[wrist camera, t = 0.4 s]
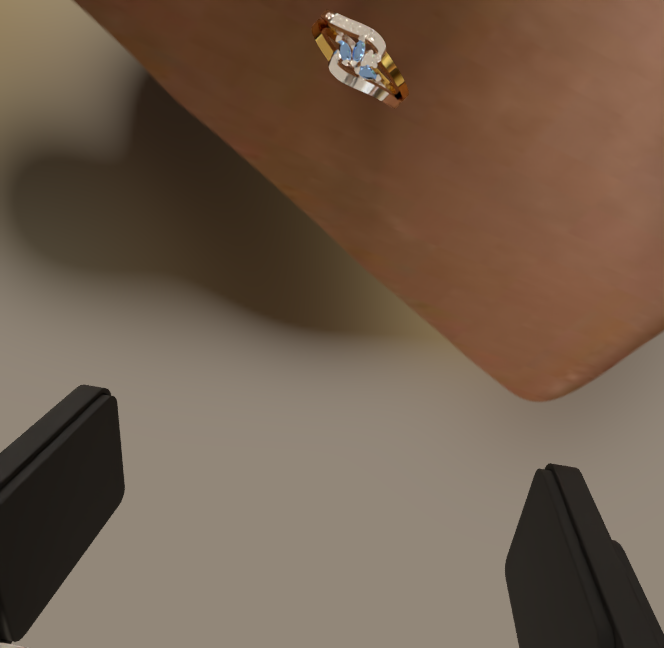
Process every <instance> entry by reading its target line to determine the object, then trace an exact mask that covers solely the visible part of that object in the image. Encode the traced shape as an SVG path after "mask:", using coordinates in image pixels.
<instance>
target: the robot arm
mask: <svg viewBox="0 0 664 648" xmlns="http://www.w3.org/2000/svg"><path fill="white" fill-rule="evenodd" d="M124 488H125V485H124V474H123V462H122V452H121V440H120V430H119V418H118V406H117V400H116V398H115V397H114V396H111V393H110V391H109V390H108V389H106V388H101V387H95V386H89V385H80V386H78V387H77V388H76V389H75V390H73V391H72V392H71V393H70V394H69V395H68V396H66V397H65V398H64V399H63V400H62V401H61V402H59V403H58V404H57V405H56V406H55V407H54V408H52V409H51V410H50V411H49V412H48V413H47V414H45V415H44V416H43V417H42V418H41V419H40V420H38V421H37V422H36V423H35V424H34V425H33V426H31V427H30V428H29V429H28V430H27V431H26V432H24V433H23V434H22V435H21V436H20V437H19V438H17V439H16V440H15V441H14V442H13V443H12V444H10V445H9V446H8V447H7V448H6V449H4V450H3V451H2V452H1V453H0V648H27V647H22V646H17V645H12V644H11V643H12V641H14V642H16V641H19V640H20V639H21V638H23V636H24V635H25V634H26V633H27V631H28V630H29V629H30V627H31V626H32V624H33V623H34V622H35V620H36V619H37V618H38V616H39V615H40V613H41V612H42V611H43V609H44V608H45V607H46V605H47V604H48V602H49V601H50V599H51V598H52V597H53V595H54V594H55V593H56V591H57V590H58V589H59V587H60V586H61V584H62V583H63V582H64V580H65V579H66V578H67V576H68V575H69V573H70V572H71V571H72V569H73V568H74V566H75V565H76V564H77V562H78V561H79V560H80V558H81V557H82V555H83V554H84V552H85V551H86V550H87V549H88V547H89V546H90V544H91V543H92V542H93V540H94V539H95V537H96V536H97V535H98V533H99V532H100V530H101V529H102V528H103V526H104V525H105V524H106V522H107V521H108V519H109V518H110V517H111V515H112V514H113V513H114V511H115V510H116V509H117V507H118V506H119V504H120V503H121V500H122V498H123V495H124V490H125V489H124ZM505 577H506V582H507V587H508V592H509V597H510V603H511V607H512V613H513V618H514V622H515V628H516V633H517V638H518V643H519V648H664V634H663V632H662V630H661V627H660V625H659V623H658V621H657V619H656V617H655V615H654V613H653V611H652V609H651V606H650V604H649V602H648V600H647V598H646V596H645V594H644V592H643V589H642V587H641V585H640V583H639V581H638V579H637V577H636V575H635V573H634V571H633V568H632V566H631V564H630V562H629V560H628V558H627V556H626V553H625V551H624V550H623V548H622V547H621V545H620V544H619V543H618V542H616V541H614V540H611V537H610V535H609V533H608V531H607V529H606V527H605V524H604V522H603V520H602V518H601V515H600V513H599V511H598V509H597V507H596V505H595V503H594V500H593V498H592V496H591V494H590V491H589V489H588V487H587V485H586V483H585V480H584V478H583V476H582V474H581V472H580V470H579V469H577V468H574V467H568V466H562V465H556V464H551V463H550V464H548V465H547V466H546V467H545V469H538V470H537V471H536V473H535V475H534V478H533V481H532V484H531V487H530V490H529V493H528V496H527V499H526V502H525V505H524V508H523V511H522V514H521V517H520V520H519V523H518V526H517V529H516V532H515V535H514V538H513V540H512V543H511V546H510V549H509V552H508V555H507V559H506V564H505Z"/></svg>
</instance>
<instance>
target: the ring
mask: <svg viewBox="0 0 664 648" xmlns="http://www.w3.org/2000/svg"><path fill="white" fill-rule="evenodd" d="M320 17H321V18H322V19H323V20H324V21H323V20H322V19H318V20H317V21H316V22H315V24H314V25H313V26H312V33H313V36H314V38H315V40H316V42H317V44H318V46H319V47H320V49H321V51H322V52H323V54H324V55H325V57H326V58H327V60H328V61H329V62H328V66H329V69H330V71H331V73H332V74H333V75H334V76H335V77H336V78H337V79H338V80H339V81H341V82H343V83H344V84H346V85H348V86H351V87H353V88H355V89H358V90H360V91H362V92H364V93H367V94H369V95H371V96H373V97H375V98H377V99H378V100H380V101H382V102H384V103H386V104H387V105H389V106H391V107H392V108H394V109H395V108H396V107H397V106H398V105H400V104H401V102H402V101H403V100H404V99H405V98H406V97H407V96H408V95H409V91H408V88H407V85H406V83H405V81H404V79H403V77H402V75H401V74H400V72H399V70H398V69H397V67H396V65H395V64H394V62H393V61H392V59H391V58H390V56H389V55H388V53H387V52H386V44H385V42H384V40H383V39H382V37H381V36H380V35H379V34H378V33H377V32H376V31H374V30H373V29H371V28H370V27H368V26H366V25H363V24H361V23H359V22H356V21H354V20H351V19H349V18H346V17H344V16H342V15H340V14H338V13H335V12H333V11H331V10H329V9H326V11H325V12H324V13H323V14H322V15H321V16H320ZM349 35H350V36H353V37H355V38H358V39H359V42H358V43H357V44H356V43H355V42H354V40H353V39H352V38H351V37H350V36H349ZM328 36H329V37H331V38H332V39H333V40H335V41H336V42H337V43H338V44H339V50H338V49H337V48H336V47H335V46H334V45H333V43H332V42H331V41H330V39H329V37H328ZM366 43H368V44H369V45H371V46H372V47H373V48H374V50H375V54H374V55H373V50H370V49H368V50H367V53H365V52H366V46H365V44H366ZM340 60H343V62H342V64H344V65H345V66H347V67H350V68H352V66H353V69H354V71H355V73H356V74H355V73H353V72H351V71H349V70H347V69H345V68H344V67H343V66H342V65H341V64H340V62H339V61H340ZM377 64H378V65H379V66H380V67H381V68H382V69H383V71H384V72H385V73H386V74H387V76H388V77H389V79H390V80H391V82H392V83H391V82H390V81H388V80H387V79H386V78H385V76H384V75H383V74H382V73H381V72H380V71H379V70H378V69H377ZM357 74H359V75H357ZM371 80H372V81H371ZM400 101H401V102H400Z"/></svg>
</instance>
